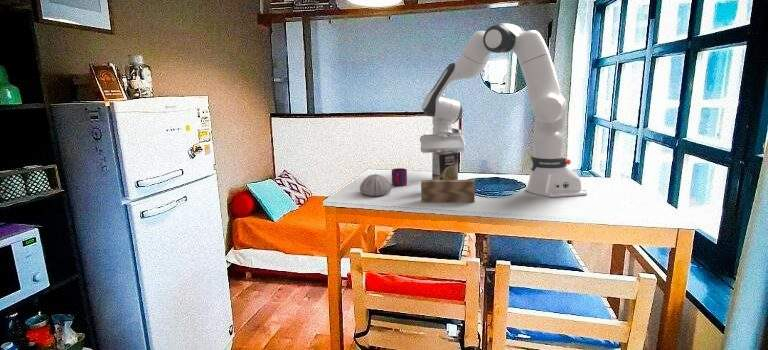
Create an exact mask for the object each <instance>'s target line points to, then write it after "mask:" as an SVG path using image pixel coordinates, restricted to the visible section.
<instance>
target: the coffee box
mask: <svg viewBox="0 0 768 350" xmlns="http://www.w3.org/2000/svg"><path fill="white" fill-rule="evenodd" d="M431 155H432V157H431V158H432V159H431V160H432V161H431V162H432V164H431V166H432V167H431V168H432V169H431V173H432V174H431V180H459V178H458V177H459V152H453V151H444V152H436V153H431Z"/></svg>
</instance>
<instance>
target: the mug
mask: <svg viewBox="0 0 768 350" xmlns="http://www.w3.org/2000/svg"><path fill="white" fill-rule="evenodd" d="M391 186H392V187H405V186H408V169H407V168H401V167H399V168H397V167H395V168H392V169H391Z"/></svg>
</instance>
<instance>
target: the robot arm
mask: <svg viewBox="0 0 768 350" xmlns="http://www.w3.org/2000/svg"><path fill="white" fill-rule="evenodd" d="M511 52H513V53H514V54H515V55H516V58H517V60H518V64H519V66H520V70H521V73H522V76H523V78H524V82H525V84H526V89H527V93H528V97H529V102H530V105H531V106H530V107H531V109H532V112H533V115H534V117H535V122H534V130H533V137H532V155H530V160H529V161H530V163H529V164H530V165H529V167H530V168H529V169H530V174H529V179H528V182H527V186H526V188H525V190H526V191H527V192H529V193H531V194H535V195H538V196H539V195H541V196H546V197H549V198H558V197H559V198H560V197H575V196H578V197H579V196H587V194H588V190H587V189H586V188H585V187H583V186H582V181H581V178H580V176H579V175H578V174H577V173H576V172H574V171H573V170H572V169H571V168H569V167H568V166H570V164H571V159H569V158H565V157H564V156H563V148H564V135H565V125H566V117H567V116H566V115H567V114H566V113H567V101H566V98H565V97H564V96H563V95H562V91H561V88H560V85H559V81H558V78H557V74H556V70H555V67H554V64H553V61H552V58H551V55H550V52H549V49H548V46H547V44H546V42H545V40H544V38H543V37H542V34H541V33H540V32H539V31H538V30H535V29H529V30H525V29H524V28H523V26H521V25H520V24H517V23H509V22H505V23H504V22H502V23H495V24H492V25H491V26H489V27H488V28H487V29H486V30H478V31H475V32H474V33H473V34H472V36H471V37H470V38H469V40H468V41H467V43H466V45H465V47H464V48H463V51H462V53H461V55H460V56H459V57H458V59H457V60H455V61H454V62H451V63H449V64H448V65H447V66H446V68H445V69H444V71H443V72H442V73H441V75H440V76H439V78H438V80H437V81H436V83H435V84H434V86H433V87H432V89H431V91H430V92H428V94H427V95H426V97H425V98H424V100H423V102H422V105H421V110H422V111H423V113H424V114H425V115H426V117H431V118H432V119H431V121H432V125H433V126H432V134H423V135H420V137H419V141H420V151H421V153H423V154H430V153H431V154H432V153H436V152H444V151H453V152H458V153H464V152H465V151H466V142H465V137H464V136H463V135H462V130H461V129H458V128H454V127H452V125H454V124H455V123H457V122H458V121H460V119H461V118H462V116H463V110H464V109H463V105H462V103H461V101H458V100H456V99H452V98H448V97H445V96H442V95H443V93H444V92H445V90H446V89H447V87H448V86H449V84H451V83H452V82H454V81H457V80H458V81H459V80H467V79H468V80H469V79H473V78H475V77H478V76H479V75H480V74H481V73H482V72H483V71H484V69H485V67H486V66H487V63H488V61H489V59H490V57H491V55H492V54H493V53H495V54H501V53H502V54H507V53H511ZM567 165H568V166H567Z"/></svg>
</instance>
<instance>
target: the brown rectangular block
mask: <svg viewBox="0 0 768 350" xmlns="http://www.w3.org/2000/svg"><path fill="white" fill-rule="evenodd" d="M475 191H476V181H475V179H458V180H432V179H421V180H420V201H421V203H475V201H476V200H475V197H476V196H475V194H476V192H475Z"/></svg>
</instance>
